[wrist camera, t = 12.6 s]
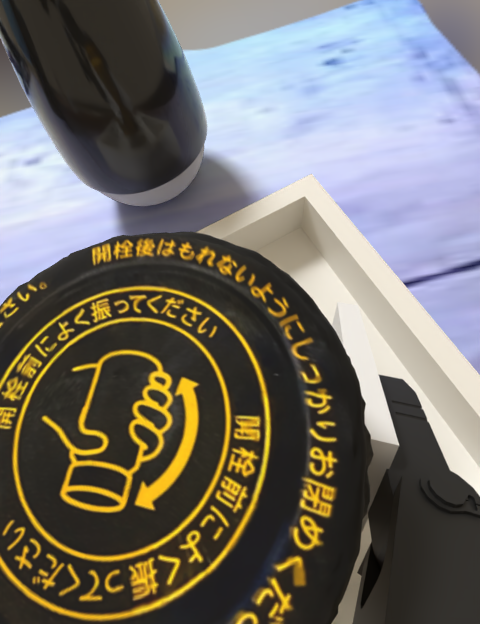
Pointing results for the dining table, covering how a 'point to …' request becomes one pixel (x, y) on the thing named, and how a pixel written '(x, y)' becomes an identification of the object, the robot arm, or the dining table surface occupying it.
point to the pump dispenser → (110, 92)
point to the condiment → (176, 441)
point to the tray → (366, 319)
